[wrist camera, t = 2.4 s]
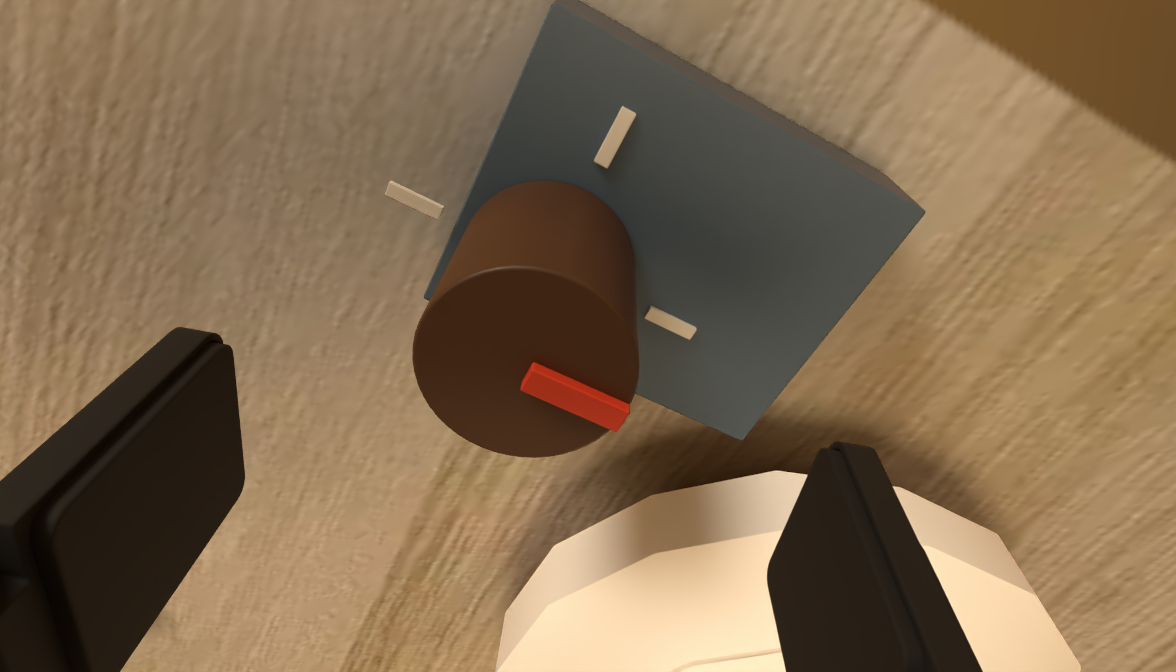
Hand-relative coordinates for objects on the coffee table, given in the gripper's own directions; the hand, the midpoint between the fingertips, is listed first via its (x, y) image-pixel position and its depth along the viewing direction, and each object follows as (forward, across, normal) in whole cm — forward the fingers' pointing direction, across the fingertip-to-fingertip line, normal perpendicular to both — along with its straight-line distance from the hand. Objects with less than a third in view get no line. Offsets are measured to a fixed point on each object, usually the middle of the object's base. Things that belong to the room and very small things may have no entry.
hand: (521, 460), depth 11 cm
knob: (+8, 0, 0) cm, 8 cm away
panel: (+11, -1, 0) cm, 11 cm away
